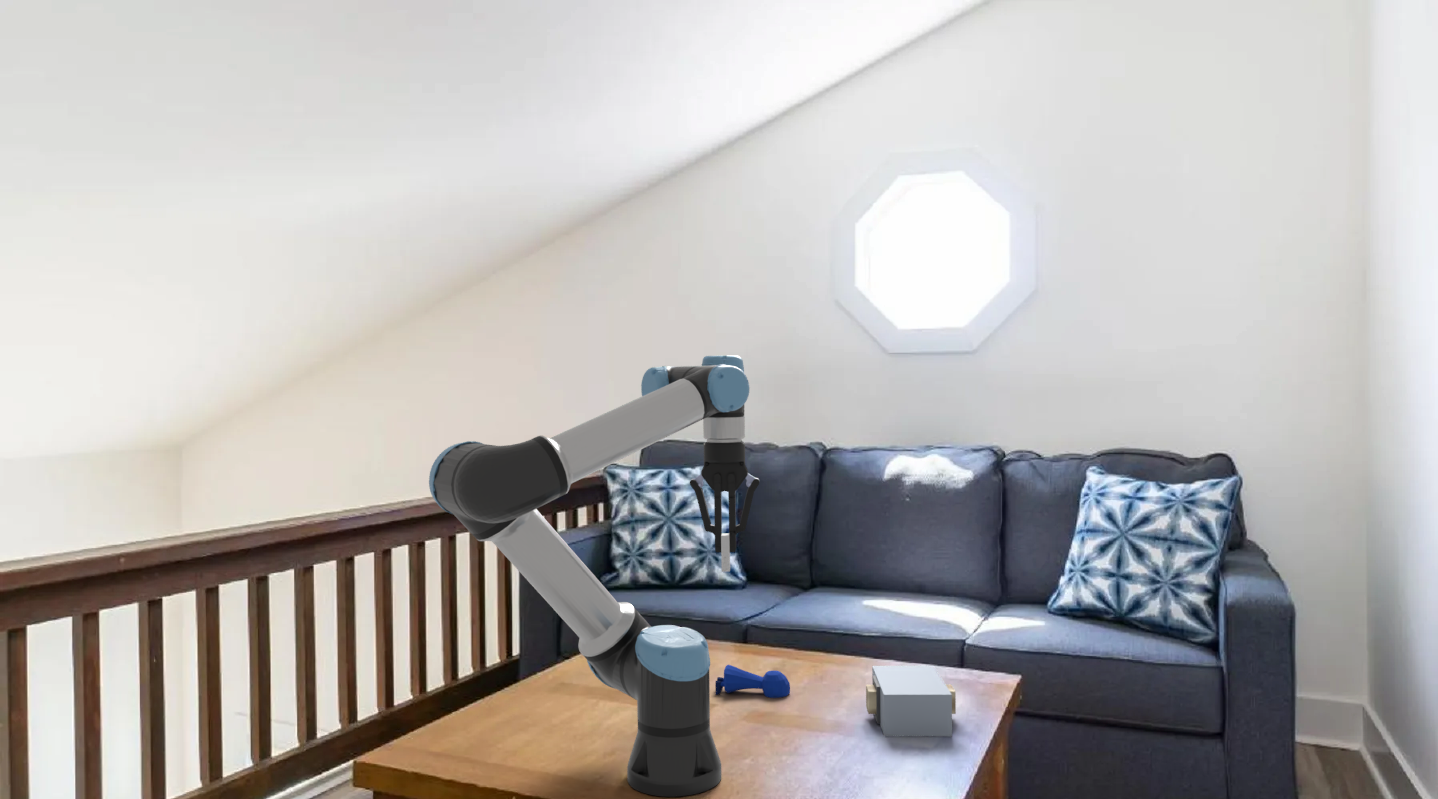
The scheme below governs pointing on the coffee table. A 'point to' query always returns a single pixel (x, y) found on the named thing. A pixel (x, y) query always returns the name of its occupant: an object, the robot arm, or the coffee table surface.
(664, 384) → the robot arm
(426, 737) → the coffee table surface
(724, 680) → the toy
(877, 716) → the sleeve block
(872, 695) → the peg
